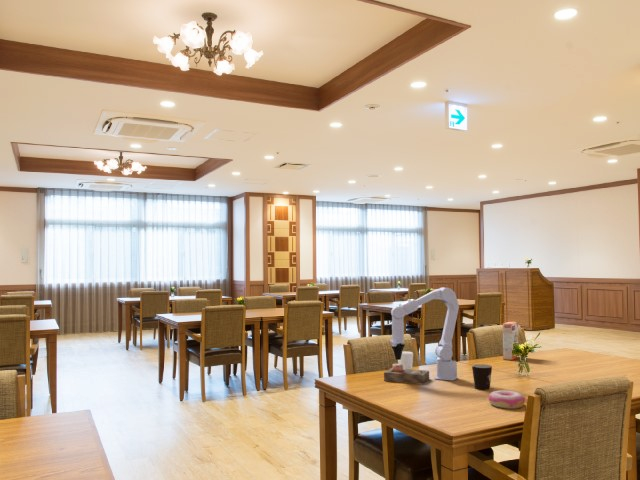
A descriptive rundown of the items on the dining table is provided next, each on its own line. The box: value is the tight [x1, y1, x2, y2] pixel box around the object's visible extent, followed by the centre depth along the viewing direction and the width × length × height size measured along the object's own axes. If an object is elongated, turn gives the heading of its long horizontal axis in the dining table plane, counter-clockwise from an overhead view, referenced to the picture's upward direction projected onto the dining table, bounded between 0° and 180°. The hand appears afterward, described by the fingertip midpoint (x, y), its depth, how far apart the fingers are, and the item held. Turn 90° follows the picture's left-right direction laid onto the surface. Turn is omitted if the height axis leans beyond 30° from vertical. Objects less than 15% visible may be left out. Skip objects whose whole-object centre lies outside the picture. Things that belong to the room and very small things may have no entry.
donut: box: [488, 389, 526, 410], centre depth 217 cm, size 14×13×5 cm
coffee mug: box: [471, 363, 493, 391], centre depth 247 cm, size 12×9×10 cm
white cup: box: [397, 350, 414, 370], centre depth 286 cm, size 8×8×10 cm
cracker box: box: [502, 321, 519, 361], centre depth 323 cm, size 14×6×21 cm, turn 147°
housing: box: [383, 367, 430, 385], centre depth 266 cm, size 19×12×4 cm, turn 65°
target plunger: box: [391, 363, 403, 372], centre depth 268 cm, size 5×5×4 cm
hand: (398, 359), depth 268 cm, fingers closed
